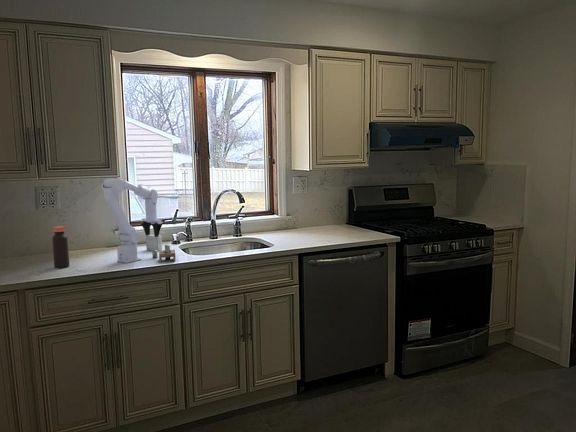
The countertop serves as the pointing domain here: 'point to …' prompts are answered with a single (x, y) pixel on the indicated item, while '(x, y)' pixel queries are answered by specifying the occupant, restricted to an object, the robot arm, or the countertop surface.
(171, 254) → the hole bridge
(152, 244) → the medicine box
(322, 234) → the countertop surface
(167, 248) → the tall pin
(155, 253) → the short pin
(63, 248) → the bottle
